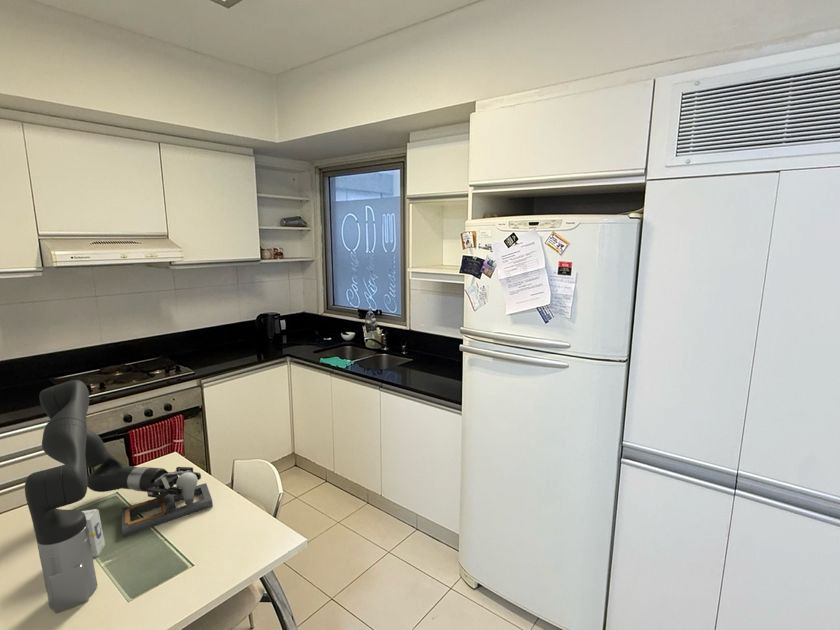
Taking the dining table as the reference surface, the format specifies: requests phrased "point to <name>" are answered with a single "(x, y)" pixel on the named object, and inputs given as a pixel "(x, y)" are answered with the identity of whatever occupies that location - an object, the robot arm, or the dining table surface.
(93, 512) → the ink box
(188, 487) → the lightbulb
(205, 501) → the rail
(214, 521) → the dining table surface
